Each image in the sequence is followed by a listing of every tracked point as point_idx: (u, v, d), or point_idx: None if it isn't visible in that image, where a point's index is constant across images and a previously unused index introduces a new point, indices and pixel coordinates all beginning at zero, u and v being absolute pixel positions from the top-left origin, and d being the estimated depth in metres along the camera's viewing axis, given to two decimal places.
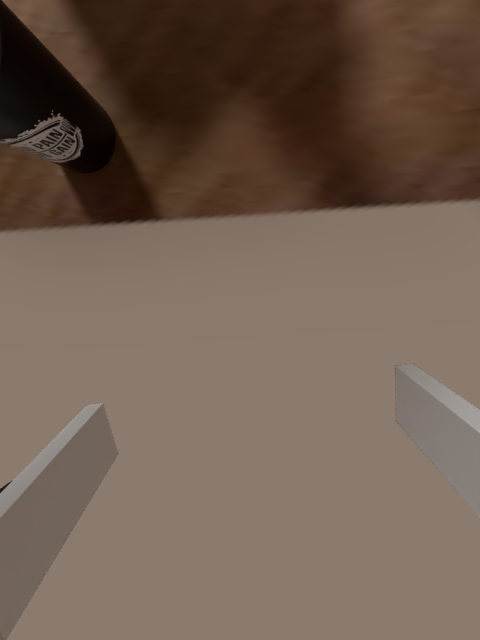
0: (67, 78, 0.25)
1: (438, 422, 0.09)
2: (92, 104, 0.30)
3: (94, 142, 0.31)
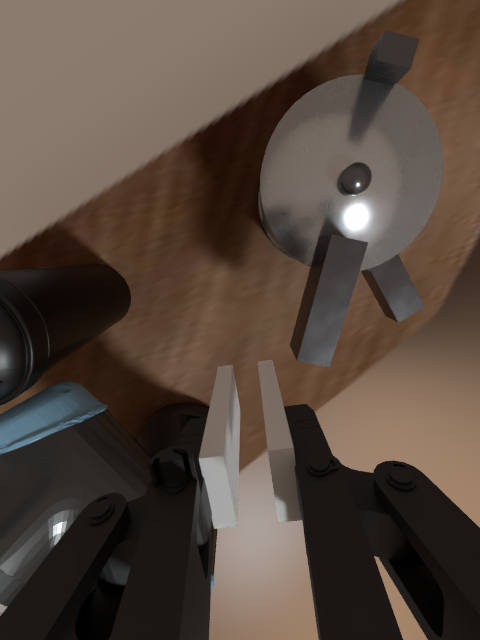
0: None
1: None
2: None
3: None
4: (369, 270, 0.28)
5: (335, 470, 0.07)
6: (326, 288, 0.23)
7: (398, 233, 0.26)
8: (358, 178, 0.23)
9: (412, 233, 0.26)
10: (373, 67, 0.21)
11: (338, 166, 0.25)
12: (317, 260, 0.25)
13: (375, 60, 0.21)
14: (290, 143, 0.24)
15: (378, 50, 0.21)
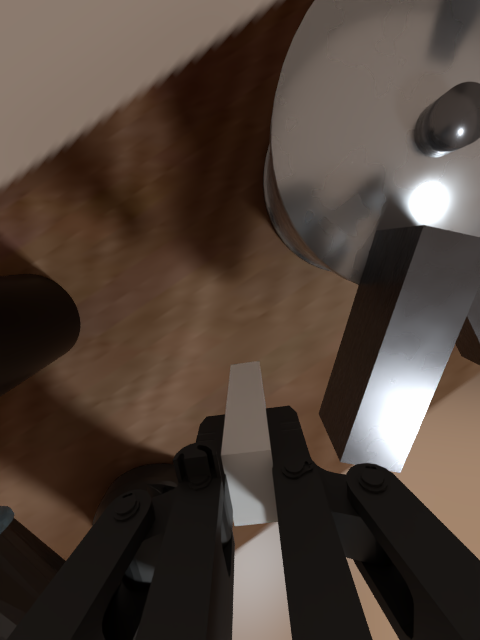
0: None
1: None
2: None
3: None
4: None
5: (309, 471, 0.07)
6: (405, 332, 0.12)
7: None
8: (466, 115, 0.12)
9: None
10: None
11: (419, 98, 0.13)
12: (378, 275, 0.13)
13: None
14: (330, 52, 0.13)
15: None
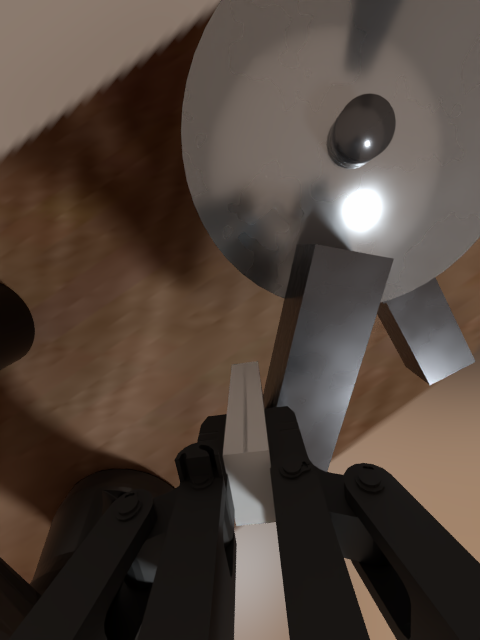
0: None
1: None
2: None
3: None
4: None
5: (307, 471, 0.07)
6: (309, 351, 0.12)
7: (444, 236, 0.14)
8: (368, 128, 0.12)
9: (469, 235, 0.14)
10: None
11: (328, 110, 0.13)
12: (292, 291, 0.13)
13: None
14: (233, 66, 0.12)
15: None
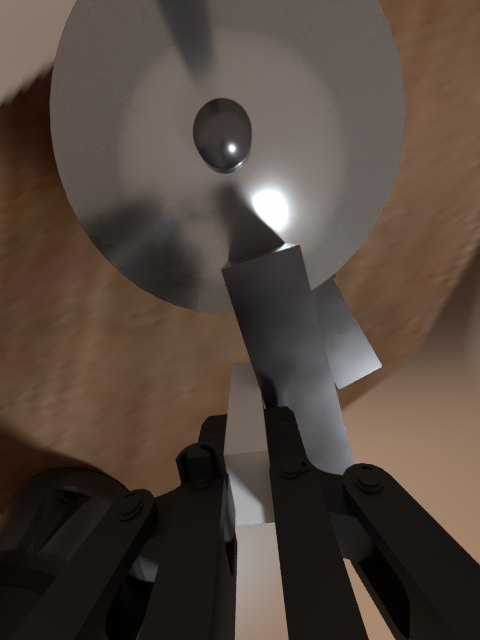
0: None
1: None
2: None
3: None
4: None
5: (306, 471, 0.07)
6: (272, 363, 0.11)
7: (363, 179, 0.13)
8: (224, 131, 0.11)
9: (388, 164, 0.13)
10: None
11: (188, 132, 0.13)
12: None
13: None
14: (89, 144, 0.13)
15: None
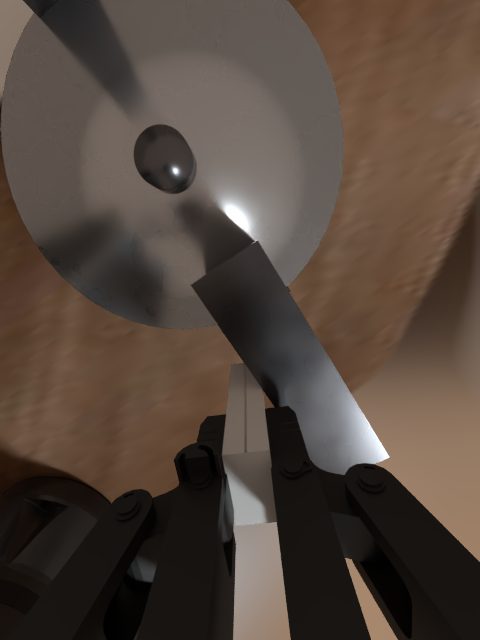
0: None
1: None
2: None
3: None
4: None
5: (308, 471, 0.07)
6: (266, 361, 0.11)
7: (312, 158, 0.13)
8: (164, 155, 0.12)
9: (332, 136, 0.13)
10: None
11: (135, 165, 0.13)
12: None
13: None
14: (51, 204, 0.14)
15: None
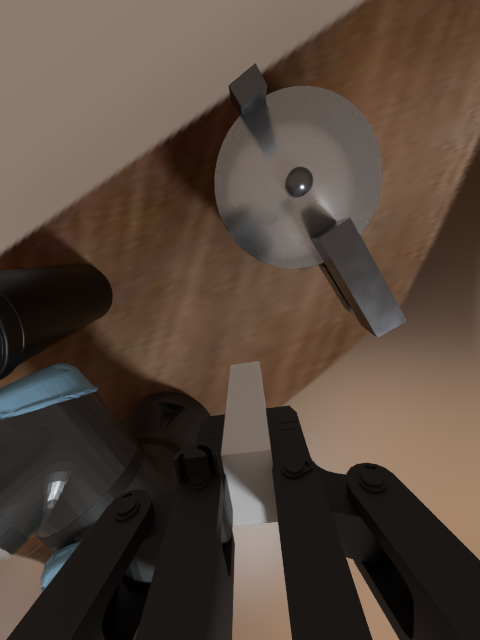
0: None
1: None
2: None
3: None
4: (322, 265, 0.31)
5: (309, 471, 0.07)
6: (350, 273, 0.25)
7: (366, 179, 0.27)
8: (300, 180, 0.26)
9: (377, 168, 0.26)
10: (242, 109, 0.24)
11: (279, 184, 0.27)
12: (325, 257, 0.27)
13: (240, 106, 0.24)
14: (234, 204, 0.28)
15: (236, 99, 0.23)
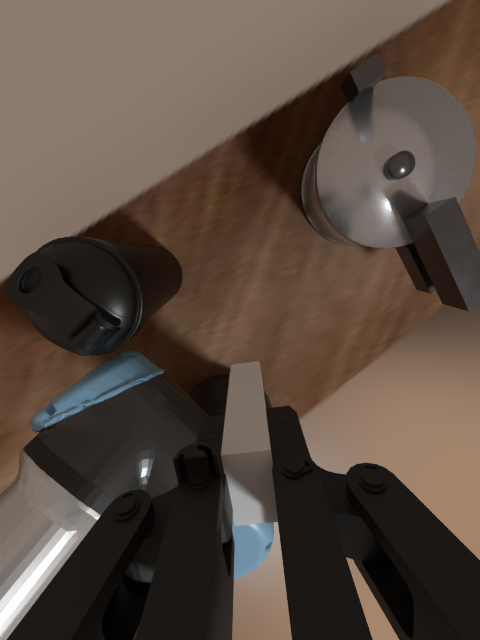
0: None
1: None
2: None
3: None
4: (406, 246, 0.33)
5: (309, 471, 0.07)
6: (450, 249, 0.27)
7: (459, 164, 0.29)
8: (404, 163, 0.28)
9: (470, 155, 0.29)
10: (357, 95, 0.26)
11: (378, 167, 0.29)
12: (420, 236, 0.29)
13: (357, 92, 0.26)
14: (335, 185, 0.30)
15: (354, 85, 0.25)
